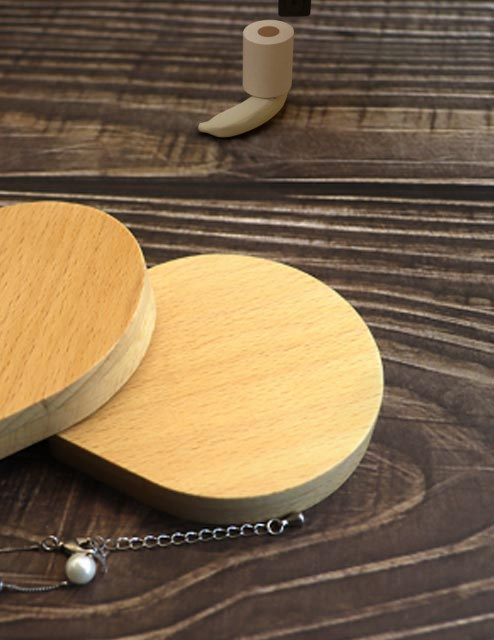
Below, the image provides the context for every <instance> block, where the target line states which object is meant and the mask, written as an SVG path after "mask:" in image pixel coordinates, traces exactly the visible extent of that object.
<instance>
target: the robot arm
mask: <svg viewBox="0 0 494 640" xmlns="http://www.w3.org/2000/svg"><path fill="white" fill-rule="evenodd" d="M277 1H278V2H277V15H278V17H280V18H296V17H297V18H298V17H299V18H300V17H301V18H302V17H305V18H307V17H309V16H310V15H311V11H312V0H277Z"/></svg>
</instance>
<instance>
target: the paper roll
mask: <svg viewBox="0 0 494 640" xmlns="http://www.w3.org/2000/svg"><path fill="white" fill-rule="evenodd" d="M294 42H295V30H294V27H293V26H292V25H291V24H289V23H287V22H285V21H282V20H276V19H264V20H259V21H255V22H252V23H250V24H248V25H247V26H246V27H245V28H244V29H243V32H242V89H243V91H245V93H247V94H249V95H250V96H252V95H253V96H256V97H261V98H271V97H277V96H280V95H283V94H285V93H286V92H288V93H289V91H290V90H291V88H292V83H293V66H294V63H293V62H294Z"/></svg>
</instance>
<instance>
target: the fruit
mask: <svg viewBox="0 0 494 640" xmlns="http://www.w3.org/2000/svg"><path fill="white" fill-rule="evenodd" d="M288 95H289V91H288V92H286V93H285V94H283V95H280V96H277V97H271V98H261V97H256V96H253V95H250V97H248V98H246V99H245V100H243V101H242V102H240V103H238V104H236V105H234V106H232V107H230V108H228V109H226V110H223V111H222V112H220V113H218V114H215V115H214V116H213V117H212V118H211V119H209V120H207V121H203V122H199V124H198V131H199V132H200V133H206V134H209V135H212V136H213V137H217V138H230V137H234V136H235V137H236V136H239V135H242V134H244V133H246V132H250V131H253V130H254V129H256V128H258V127H260V126H262V125H263V124H265V123H267V122H268V121H269V120H270V119H273V117H275V116H276V115H277V114H278V113H279V112H280V111H281V109H282V108H283V107H284V105H285V103H286V101H287V98H288Z"/></svg>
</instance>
